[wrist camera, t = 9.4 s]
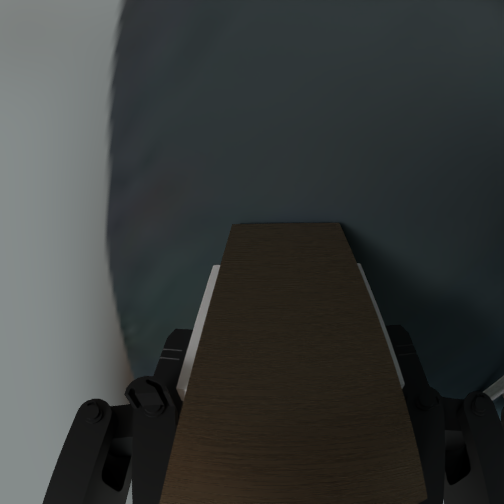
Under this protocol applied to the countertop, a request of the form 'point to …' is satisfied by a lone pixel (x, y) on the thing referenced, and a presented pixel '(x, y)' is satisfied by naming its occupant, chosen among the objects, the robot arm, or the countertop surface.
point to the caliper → (495, 389)
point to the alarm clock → (502, 415)
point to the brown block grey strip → (293, 383)
